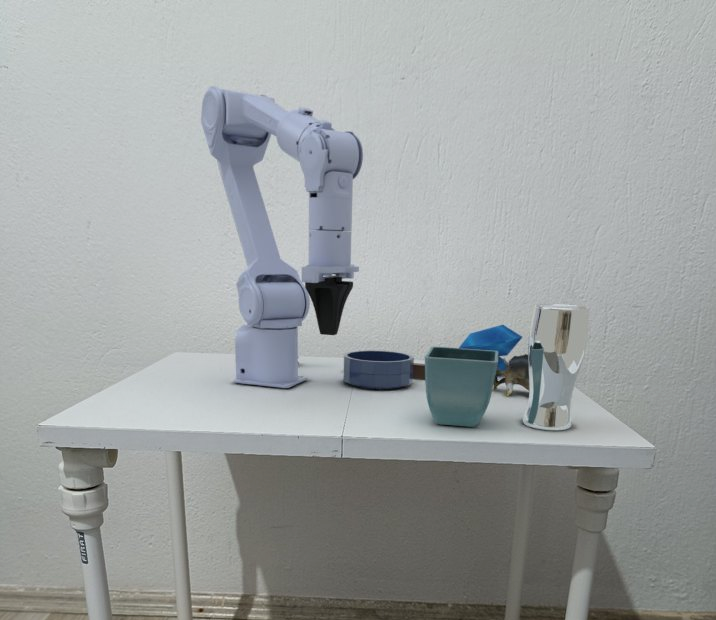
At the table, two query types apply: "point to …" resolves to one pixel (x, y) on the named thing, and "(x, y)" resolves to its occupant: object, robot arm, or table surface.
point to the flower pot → (459, 384)
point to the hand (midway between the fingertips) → (328, 334)
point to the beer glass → (554, 363)
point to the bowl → (378, 369)
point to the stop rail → (419, 371)
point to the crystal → (493, 342)
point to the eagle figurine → (514, 373)
